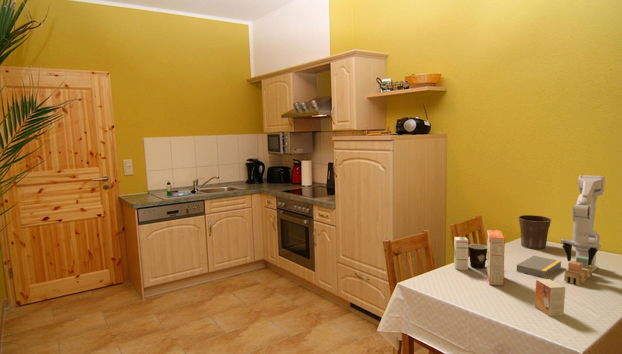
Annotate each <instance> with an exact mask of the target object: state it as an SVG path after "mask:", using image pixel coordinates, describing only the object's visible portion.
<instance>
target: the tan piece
mask: <svg viewBox="0 0 622 354" xmlns="http://www.w3.org/2000/svg"><path fill="white" fill-rule="evenodd" d="M592 267H593V263H591V265H589V267H588V268H583V267H582V272H581V273H578V272H574V271H569V270H568V269H564V280H563V281H566V282H565V283H567V282H568V281H569V282H568V283H570V284H571V283H574V282H575V283H574V284H575V285H576V284H577V285H576V286H580V285H582V284H583V283H584V282H585V281H587V279H589V278H590V277H591V276H593V272H592ZM582 282H583V283H582Z"/></svg>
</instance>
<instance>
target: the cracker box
mask: <svg viewBox="0 0 622 354" xmlns="http://www.w3.org/2000/svg"><path fill="white" fill-rule="evenodd" d="M486 235H487V236H486V237H487V238H486V239H487V242H486V246H487V256H486V259H487V260H486V276H487V280H488V284H489V286H500V287H505V286H504V285H505V283H504V282H505V247H506V246H505V244H506V243H505V242H506V241H505V239H506V238H505V237H504V235H503V233H502V231H501V230H497V229H487V233H486Z"/></svg>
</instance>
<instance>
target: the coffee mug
mask: <svg viewBox="0 0 622 354" xmlns="http://www.w3.org/2000/svg"><path fill="white" fill-rule="evenodd" d="M468 257H469V264H470V267H471V268H472V269H476V270H483V269H485V268H486V264H487V245H484V244H481V243H480V244H479V243H471V244H468Z"/></svg>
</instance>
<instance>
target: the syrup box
mask: <svg viewBox="0 0 622 354" xmlns="http://www.w3.org/2000/svg"><path fill="white" fill-rule="evenodd" d="M453 239H454V240H453V244H454V246H453V251H454V252H453V266H454V269H455V270H461V271H468V270H469V247H468V246H469V239H468V238H467V237H464V236H454V237H453Z"/></svg>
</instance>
